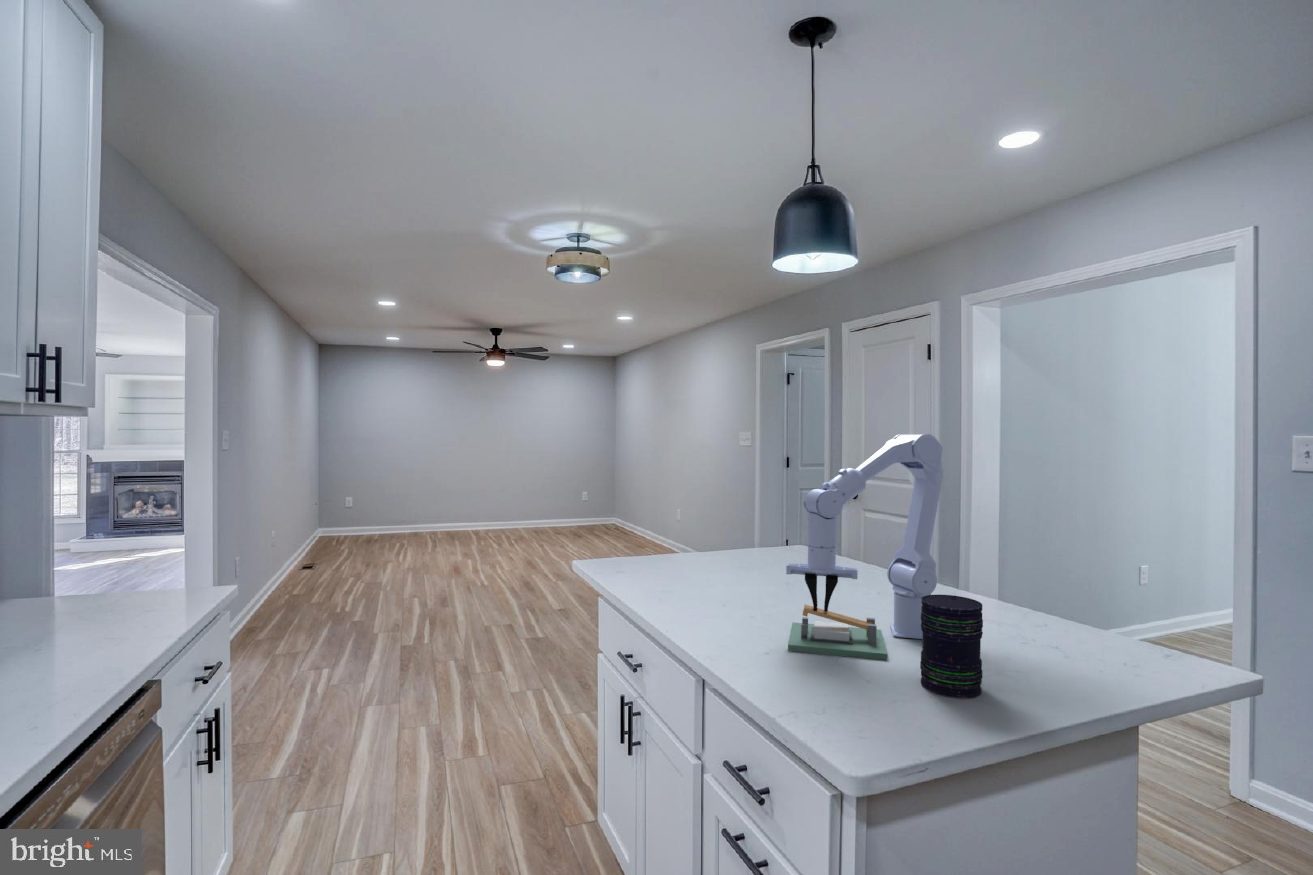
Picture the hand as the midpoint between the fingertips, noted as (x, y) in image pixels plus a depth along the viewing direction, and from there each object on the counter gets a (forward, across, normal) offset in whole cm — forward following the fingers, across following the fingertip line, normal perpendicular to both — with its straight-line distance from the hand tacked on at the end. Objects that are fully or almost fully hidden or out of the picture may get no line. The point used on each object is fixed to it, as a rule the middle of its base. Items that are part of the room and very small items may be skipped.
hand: (820, 610), depth 135 cm
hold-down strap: (+2, +3, 0) cm, 4 cm away
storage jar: (+7, +22, -19) cm, 30 cm away
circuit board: (+7, +3, 0) cm, 7 cm away
